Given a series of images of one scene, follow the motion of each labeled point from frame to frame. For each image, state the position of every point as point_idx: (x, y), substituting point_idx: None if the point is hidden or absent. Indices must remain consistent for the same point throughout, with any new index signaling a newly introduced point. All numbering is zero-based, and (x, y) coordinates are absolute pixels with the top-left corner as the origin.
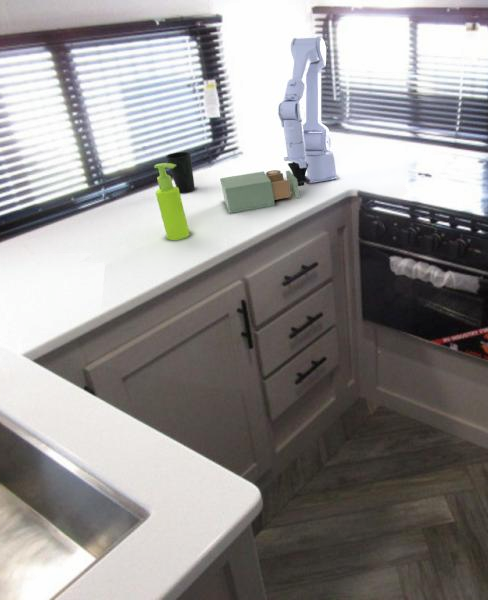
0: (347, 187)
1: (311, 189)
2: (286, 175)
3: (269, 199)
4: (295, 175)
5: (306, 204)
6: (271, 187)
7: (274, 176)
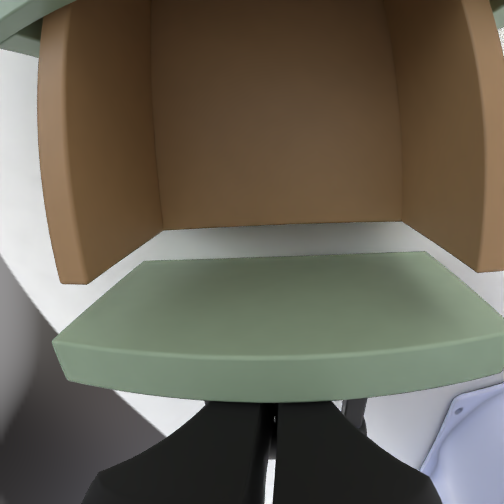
0: (269, 498)
1: None
2: (480, 304)
3: None
4: (199, 417)
5: (70, 294)
6: (25, 49)
7: (469, 123)
